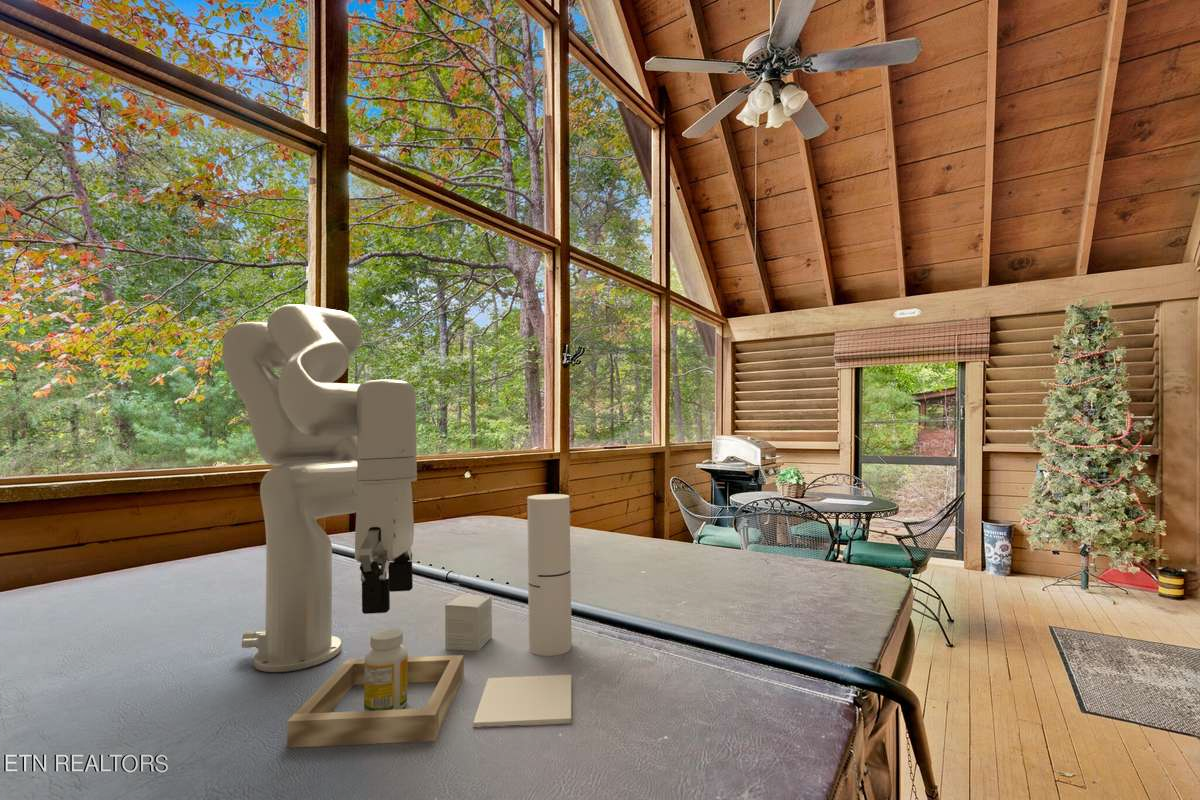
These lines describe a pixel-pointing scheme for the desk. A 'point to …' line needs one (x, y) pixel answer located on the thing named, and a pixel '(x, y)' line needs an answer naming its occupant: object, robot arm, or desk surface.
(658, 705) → the desk surface
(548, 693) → the pad
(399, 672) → the supplement bottle
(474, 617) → the product box
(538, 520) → the cylindrical container
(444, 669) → the wooden square frame
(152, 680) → the desk surface
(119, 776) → the desk surface
